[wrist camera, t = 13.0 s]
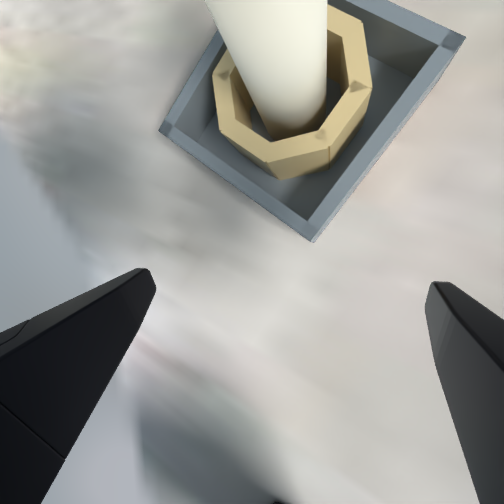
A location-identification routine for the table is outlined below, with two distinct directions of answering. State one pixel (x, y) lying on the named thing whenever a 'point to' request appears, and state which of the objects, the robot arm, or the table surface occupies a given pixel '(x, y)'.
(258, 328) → the table surface
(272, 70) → the cream and grey cylinder
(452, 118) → the table surface
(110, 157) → the table surface
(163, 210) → the table surface
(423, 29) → the walled box
